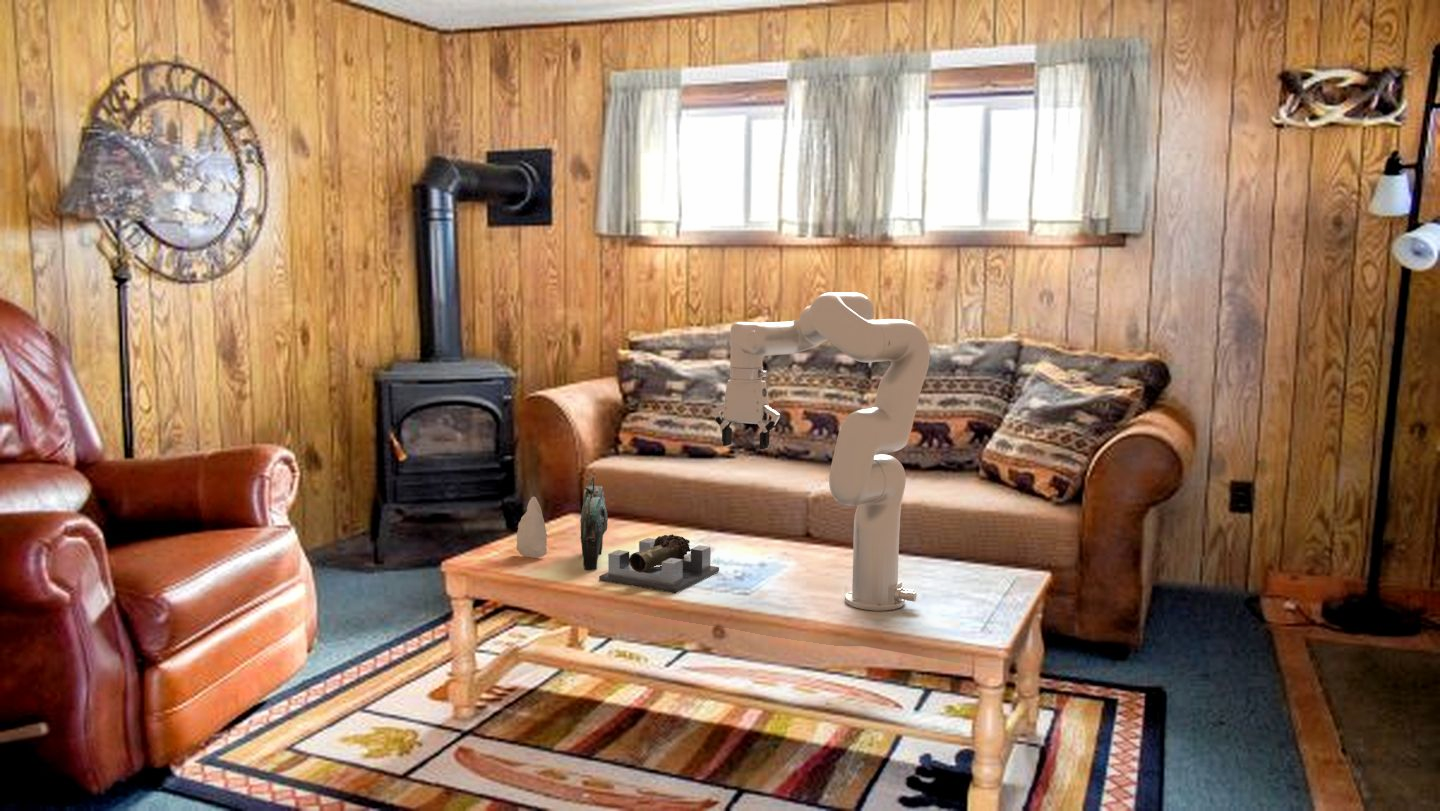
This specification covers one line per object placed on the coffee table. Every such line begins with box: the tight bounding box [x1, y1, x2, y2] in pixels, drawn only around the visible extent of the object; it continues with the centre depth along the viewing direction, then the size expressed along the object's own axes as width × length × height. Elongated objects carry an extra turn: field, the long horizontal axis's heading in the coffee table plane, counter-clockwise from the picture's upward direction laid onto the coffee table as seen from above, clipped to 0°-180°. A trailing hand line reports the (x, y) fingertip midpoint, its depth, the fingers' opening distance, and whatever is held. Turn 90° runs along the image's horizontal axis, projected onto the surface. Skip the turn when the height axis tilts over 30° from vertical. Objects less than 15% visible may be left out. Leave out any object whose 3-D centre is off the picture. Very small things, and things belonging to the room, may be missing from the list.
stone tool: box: [516, 496, 548, 559], centre depth 264 cm, size 8×3×15 cm, turn 70°
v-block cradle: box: [598, 537, 720, 594], centre depth 249 cm, size 20×20×6 cm
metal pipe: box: [629, 534, 691, 573], centre depth 249 cm, size 18×7×6 cm, turn 144°
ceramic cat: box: [580, 476, 609, 571], centre depth 262 cm, size 20×6×20 cm, turn 2°
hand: (745, 446), depth 257 cm, fingers open, 9 cm apart
